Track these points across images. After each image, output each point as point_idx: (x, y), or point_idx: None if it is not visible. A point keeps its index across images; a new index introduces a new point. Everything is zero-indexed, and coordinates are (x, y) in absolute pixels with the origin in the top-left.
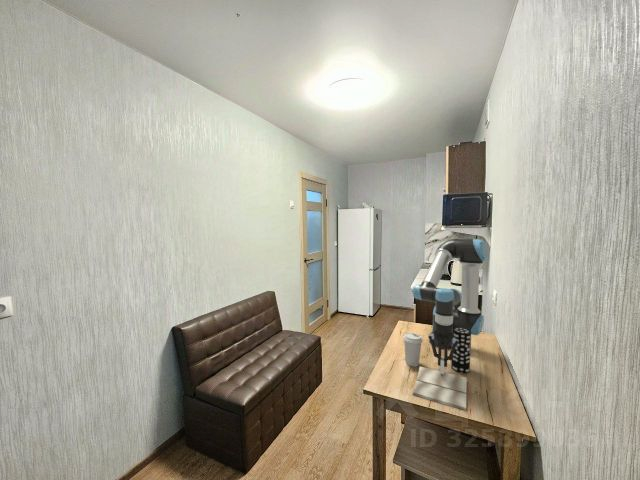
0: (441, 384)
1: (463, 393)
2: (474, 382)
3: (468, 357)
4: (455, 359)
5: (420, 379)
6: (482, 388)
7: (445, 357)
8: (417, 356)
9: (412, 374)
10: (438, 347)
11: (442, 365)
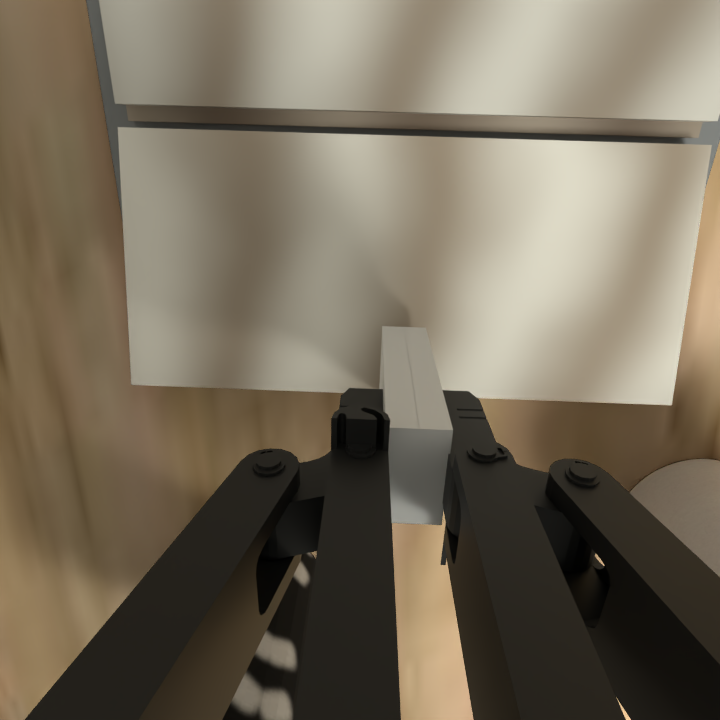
0: (402, 165)
1: (144, 91)
2: (114, 435)
3: None
4: (264, 646)
5: (663, 162)
6: (34, 366)
7: (361, 475)
8: (712, 564)
9: (710, 314)
10: (608, 693)
11: (408, 378)
